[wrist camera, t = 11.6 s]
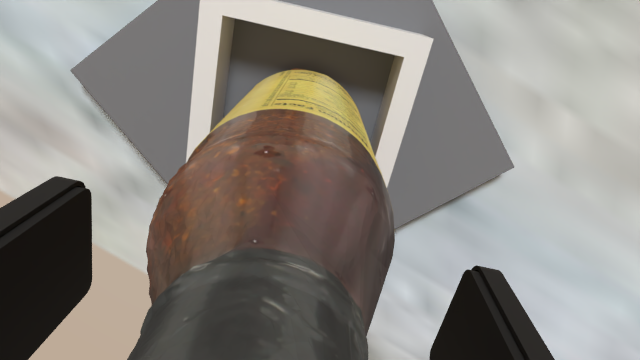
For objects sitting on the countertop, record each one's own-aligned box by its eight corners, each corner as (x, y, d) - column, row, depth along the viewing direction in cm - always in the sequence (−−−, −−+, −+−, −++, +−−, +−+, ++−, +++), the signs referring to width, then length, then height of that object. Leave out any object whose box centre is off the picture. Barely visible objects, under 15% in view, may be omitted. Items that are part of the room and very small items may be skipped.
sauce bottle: (300, 198, 23) (181, 879, 5) (219, 119, 22) (-378, 730, 4) (389, 124, 22) (693, 794, 3) (308, 31, 20) (20, 371, 2)
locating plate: (505, 159, 23) (539, 190, 20) (266, 284, 28) (255, 330, 24) (353, -147, 18) (358, -188, 14) (83, 67, 22) (30, 81, 18)
